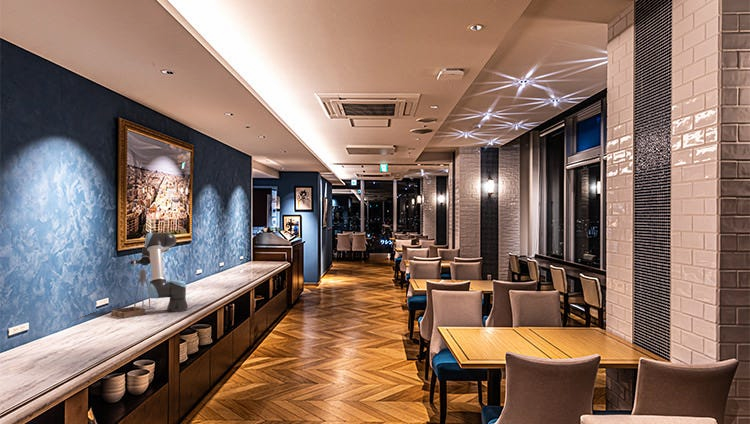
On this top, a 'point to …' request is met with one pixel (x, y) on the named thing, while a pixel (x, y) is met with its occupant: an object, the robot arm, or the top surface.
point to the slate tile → (146, 307)
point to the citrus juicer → (142, 280)
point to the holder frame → (128, 312)
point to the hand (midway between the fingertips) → (143, 263)
